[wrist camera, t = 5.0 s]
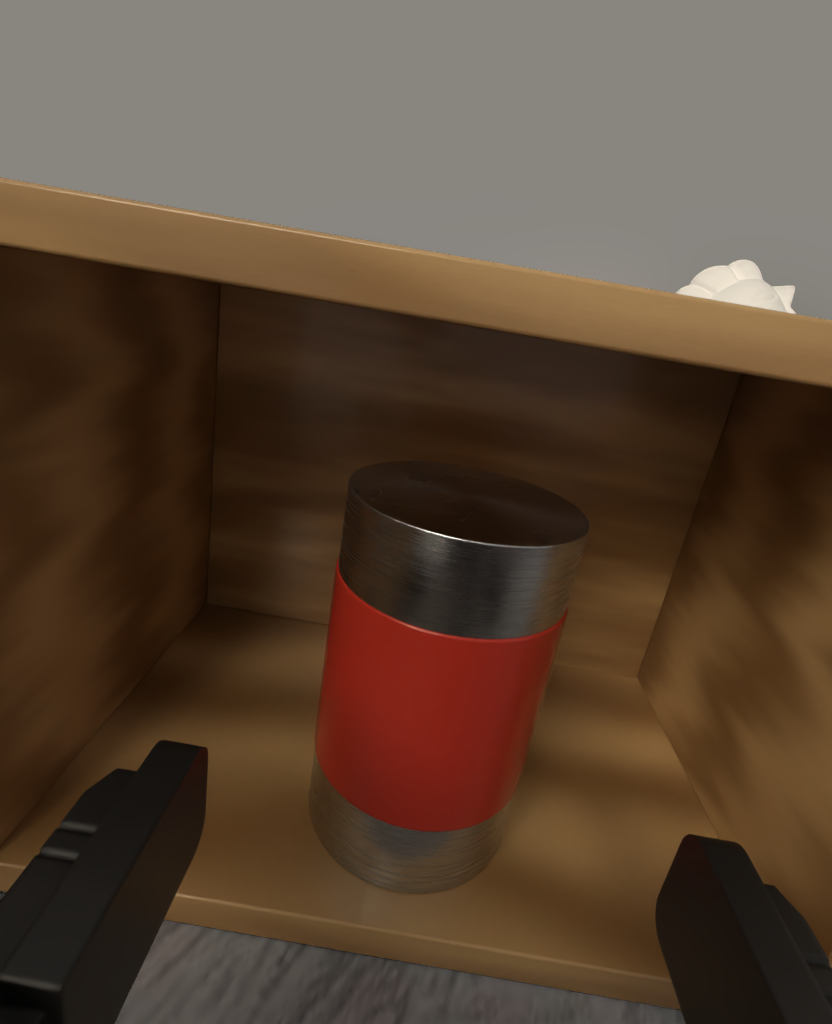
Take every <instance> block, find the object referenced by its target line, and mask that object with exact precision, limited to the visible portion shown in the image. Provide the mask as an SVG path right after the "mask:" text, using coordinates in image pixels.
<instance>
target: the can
mask: <svg viewBox="0 0 832 1024" xmlns="http://www.w3.org/2000/svg"><path fill="white" fill-rule="evenodd" d="M588 533H589V522H588V519H587V517H586V516H585V514H584V513H583V512H582V511H581V510H580V509H579V508H578V507H576V506H575V505H574V504H572V503H571V502H569V501H568V500H566V499H564V498H563V497H561V496H559V495H557V494H555V493H553V492H551V491H549V490H547V489H545V488H542V487H540V486H537V485H535V484H532V483H529V482H527V481H524V480H521V479H518V478H514V477H511V476H508V475H504V474H500V473H497V472H493V471H488V470H484V469H479V468H474V467H469V466H463V465H457V464H450V463H441V462H431V461H390V462H382V463H376V464H372V465H368V466H365V467H362V468H360V469H358V470H356V471H355V472H354V473H353V474H352V475H351V477H350V479H349V482H348V490H347V498H346V505H345V513H344V521H343V529H342V537H341V545H340V553H339V557H338V559H337V562H336V569H335V577H334V585H333V593H332V601H331V608H330V616H329V624H328V632H327V640H326V648H325V656H324V664H323V672H322V680H321V688H320V696H319V704H318V712H317V720H316V728H315V737H314V742H315V749H314V757H313V765H312V773H311V781H310V789H309V798H308V801H309V812H310V817H311V821H312V824H313V827H314V829H315V832H316V834H317V836H318V838H319V839H320V841H321V843H322V845H323V846H324V847H325V849H326V850H327V851H328V852H329V854H330V855H331V856H332V857H333V858H334V859H335V860H336V861H337V862H338V863H339V864H340V865H341V866H342V867H344V868H345V869H346V870H348V871H349V872H350V873H352V874H353V875H355V876H357V877H358V878H360V879H362V880H363V881H365V882H368V883H370V884H372V885H375V886H377V887H380V888H383V889H387V890H390V891H394V892H401V893H407V894H428V893H437V892H441V891H445V890H449V889H452V888H455V887H457V886H459V885H462V884H464V883H466V882H467V881H469V880H471V879H472V878H474V877H475V876H476V875H477V874H479V873H480V872H481V871H482V870H483V869H484V868H485V867H486V866H487V865H488V864H489V862H490V861H491V860H492V858H493V857H494V855H495V853H496V852H497V850H498V847H499V844H500V842H501V838H502V835H503V831H504V828H505V824H506V821H507V817H508V814H509V810H510V807H511V803H512V800H513V796H514V794H515V792H516V790H517V787H518V785H519V782H520V779H521V775H522V772H523V768H524V765H525V761H526V758H527V754H528V751H529V747H530V744H531V740H532V737H533V733H534V730H535V726H536V723H537V719H538V716H539V712H540V709H541V705H542V702H543V698H544V695H545V691H546V688H547V684H548V681H549V677H550V674H551V670H552V667H553V663H554V660H555V656H556V653H557V649H558V646H559V642H560V639H561V635H562V632H563V628H564V625H565V621H566V618H567V614H568V603H569V599H570V596H571V592H572V589H573V585H574V582H575V578H576V575H577V571H578V568H579V564H580V561H581V557H582V554H583V550H584V547H585V543H586V540H587V536H588Z"/></svg>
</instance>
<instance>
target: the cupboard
mask: <svg viewBox="0 0 832 1024" xmlns="http://www.w3.org/2000/svg"><path fill="white" fill-rule="evenodd" d="M390 461H431V462H441V463H450V464H457V465H463V466H469V467H474V468H479V469H484V470H488V471H493V472H497V473H500V474H504V475H508V476H511V477H514V478H518V479H521V480H524V481H527V482H529V483H532V484H535V485H537V486H540V487H542V488H545V489H547V490H549V491H551V492H553V493H555V494H557V495H559V496H561V497H563V498H564V499H566V500H568V501H569V502H571V503H572V504H574V505H575V506H576V507H578V508H579V509H580V510H581V511H582V512H583V513H584V514H585V516H586V517H587V519H588V522H589V533H588V536H587V540H586V543H585V547H584V550H583V554H582V557H581V561H580V564H579V568H578V571H577V575H576V578H575V582H574V585H573V589H572V592H571V596H570V599H569V603H568V614H567V618H566V621H565V625H564V628H563V632H562V635H561V639H560V642H559V646H558V649H557V653H556V656H555V660H554V663H553V667H552V670H551V674H550V677H549V681H548V684H547V688H546V691H545V695H544V698H543V702H542V705H541V709H540V712H539V716H538V719H537V723H536V726H535V730H534V733H533V737H532V740H531V744H530V747H529V751H528V754H527V758H526V761H525V765H524V768H523V772H522V775H521V779H520V782H519V785H518V787H517V790H516V792H515V794H514V796H513V800H512V803H511V807H510V810H509V814H508V817H507V821H506V824H505V828H504V831H503V835H502V838H501V842H500V844H499V847H498V850H497V852H496V853H495V855H494V857H493V858H492V860H491V861H490V862H489V864H488V865H487V866H486V867H485V868H484V869H483V870H482V871H481V872H480V873H479V874H477V875H476V876H475V877H474V878H472V879H471V880H469V881H467V882H466V883H464V884H462V885H459V886H457V887H455V888H452V889H449V890H445V891H441V892H437V893H428V894H407V893H401V892H394V891H390V890H387V889H383V888H380V887H377V886H375V885H372V884H370V883H368V882H365V881H363V880H362V879H360V878H358V877H357V876H355V875H353V874H352V873H350V872H349V871H348V870H346V869H345V868H344V867H342V866H341V865H340V864H339V863H338V862H337V861H336V860H335V859H334V858H333V857H332V856H331V855H330V854H329V852H328V851H327V850H326V849H325V847H324V846H323V845H322V843H321V841H320V839H319V838H318V836H317V834H316V832H315V829H314V827H313V824H312V821H311V817H310V812H309V801H308V798H309V789H310V781H311V773H312V765H313V757H314V749H315V742H314V737H315V728H316V720H317V712H318V704H319V696H320V688H321V680H322V672H323V664H324V656H325V648H326V640H327V632H328V624H329V616H330V608H331V601H332V593H333V585H334V577H335V569H336V562H337V559H338V557H339V553H340V545H341V537H342V529H343V521H344V513H345V505H346V498H347V490H348V482H349V479H350V477H351V475H352V474H353V473H354V472H355V471H356V470H358V469H360V468H362V467H365V466H368V465H372V464H376V463H382V462H390ZM160 740H168V741H174V742H179V743H185V744H191V745H197V746H202V747H206V748H207V749H208V774H207V795H206V814H205V822H204V827H203V831H202V835H201V838H200V841H199V845H198V847H197V850H196V853H195V855H194V857H193V860H192V862H191V864H190V866H189V868H188V870H187V872H186V874H185V876H184V878H183V880H182V883H181V885H180V887H179V889H178V891H177V893H176V895H175V897H174V899H173V901H172V904H171V906H170V908H169V910H168V912H167V914H166V916H165V918H164V920H169V921H175V922H181V923H187V924H192V925H198V926H204V927H209V928H215V929H221V930H227V931H232V932H238V933H244V934H250V935H255V936H261V937H267V938H272V939H278V940H284V941H290V942H295V943H301V944H307V945H312V946H318V947H324V948H330V949H335V950H341V951H347V952H352V953H358V954H364V955H370V956H375V957H381V958H387V959H393V960H398V961H404V962H410V963H415V964H421V965H427V966H433V967H438V968H444V969H450V970H455V971H461V972H467V973H473V974H478V975H484V976H490V977H495V978H501V979H507V980H513V981H518V982H524V983H530V984H536V985H541V986H547V987H553V988H558V989H564V990H570V991H576V992H581V993H587V994H593V995H598V996H604V997H610V998H616V999H621V1000H627V1001H633V1002H638V1003H644V1004H650V1005H656V1006H661V1007H667V1008H673V1009H679V1010H681V1008H680V1005H679V1002H678V999H677V996H676V993H675V990H674V987H673V984H672V980H671V977H670V974H669V971H668V968H667V965H666V962H665V959H664V956H663V953H662V950H661V947H660V944H659V940H658V936H657V930H656V921H655V910H656V902H657V898H658V895H659V892H660V890H661V888H662V885H663V883H664V881H665V878H666V876H667V874H668V871H669V869H670V867H671V864H672V862H673V860H674V857H675V855H676V853H677V850H678V848H679V846H680V843H681V841H682V839H683V838H684V837H685V836H686V835H688V834H693V835H699V836H704V837H710V838H716V839H721V840H727V841H733V842H736V843H738V844H740V845H741V846H742V847H743V848H744V850H745V851H746V853H747V854H748V856H749V858H750V860H751V861H752V863H753V865H754V867H755V869H756V871H757V872H758V874H759V876H760V878H761V880H762V882H763V883H764V884H769V885H774V886H775V887H776V888H777V889H778V890H779V891H780V892H781V893H782V895H783V896H784V897H785V898H786V899H787V900H788V901H789V902H790V903H791V904H792V906H793V907H794V908H795V909H796V910H797V911H798V912H799V913H800V914H801V915H802V916H803V918H804V919H805V920H806V921H807V923H808V924H809V926H810V928H811V929H812V931H813V933H814V935H815V936H816V938H817V940H818V942H819V943H820V945H821V947H822V948H823V950H824V952H825V954H826V955H827V957H828V959H829V965H830V967H831V968H832V320H827V319H821V318H816V317H810V316H804V315H799V314H793V313H787V312H781V311H775V310H770V309H764V308H758V307H752V306H746V305H740V304H735V303H729V302H723V301H717V300H711V299H706V298H700V297H694V296H688V295H682V294H676V293H671V292H665V291H659V290H653V289H647V288H642V287H635V286H630V285H624V284H618V283H612V282H607V281H600V280H594V279H589V278H583V277H577V276H572V275H565V274H560V273H554V272H548V271H542V270H537V269H531V268H525V267H519V266H514V265H508V264H502V263H496V262H490V261H484V260H478V259H473V258H467V257H461V256H455V255H449V254H444V253H438V252H432V251H426V250H420V249H415V248H408V247H403V246H397V245H391V244H386V243H379V242H373V241H368V240H362V239H356V238H351V237H345V236H339V235H332V234H327V233H322V232H316V231H310V230H304V229H298V228H292V227H287V226H281V225H275V224H269V223H263V222H257V221H252V220H245V219H240V218H234V217H228V216H222V215H217V214H210V213H205V212H199V211H193V210H188V209H182V208H176V207H170V206H164V205H159V204H152V203H147V202H141V201H135V200H129V199H123V198H118V197H112V196H106V195H100V194H94V193H88V192H83V191H77V190H71V189H65V188H59V187H54V186H48V185H42V184H36V183H30V182H25V181H19V180H12V179H7V178H1V177H0V891H4V892H7V891H8V890H9V889H10V887H11V886H12V885H13V883H14V882H15V881H16V880H17V878H18V877H19V876H20V874H21V873H22V872H23V871H24V869H25V868H26V867H27V865H28V864H29V863H30V861H31V860H32V859H33V858H34V856H35V855H38V854H39V853H40V850H41V847H42V846H43V845H44V843H45V842H46V841H47V839H48V838H49V837H50V836H51V834H52V833H53V832H54V830H55V829H56V828H59V827H60V825H61V821H62V820H63V819H64V817H65V816H66V815H67V814H68V812H69V811H70V810H71V808H72V807H73V806H74V805H75V803H76V802H77V801H78V799H79V798H80V797H81V795H82V794H83V793H84V792H85V791H86V790H87V789H89V788H90V787H91V786H93V785H94V784H96V783H97V782H98V781H100V780H101V779H103V778H104V777H105V776H107V775H108V774H109V773H111V772H112V771H114V770H115V769H116V768H121V769H127V770H132V771H137V770H138V769H139V767H140V766H141V764H142V763H143V761H144V760H145V759H146V757H147V756H148V754H149V753H150V751H151V750H152V748H153V747H154V746H155V745H156V744H157V742H159V741H160Z"/></svg>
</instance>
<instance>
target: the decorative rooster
mask: <svg viewBox="0 0 832 1024" xmlns="http://www.w3.org/2000/svg"><path fill="white" fill-rule="evenodd" d="M794 292H795V287H794V286H791V285H790V286H775V287H772V286H770V285H769V284H768V283H767V282H765V281H763V278H762V275H761V273H760V270H759V268H758V267H757V265H756V264H755V263H753V262H752V261H749V260H737V261H735V262H732V263H731V264H729V265H728V266H714V267H710V268H708V269H705V270H703V271H702V272H700V273H699V274H697V276H695V277H694V278H693V280H692V281H691V283H690V285H688V286H685V287H683V288H681V289H680V290H678V291H677V292H676V294H682V295H688V296H694V297H700V298H706V299H711V300H717V301H723V302H729V303H735V304H740V305H746V306H752V307H758V308H764V309H770V310H775V311H781V312H787V313H793V314H796V313H795V312H794V310H793V309H791V303H792V300H793V296H794Z"/></svg>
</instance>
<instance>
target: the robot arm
mask: <svg viewBox="0 0 832 1024" xmlns="http://www.w3.org/2000/svg"><path fill="white" fill-rule="evenodd" d="M207 774H208V749H207V748H206V747H202V746H197V745H191V744H185V743H179V742H174V741H168V740H160V741H159V742H157V744H156V745H155V746H154V747H153V748H152V750H151V751H150V753H149V754H148V756H147V757H146V759H145V760H144V761H143V763H142V764H141V766H140V767H139V769H138V770H137V771H132V770H127V769H121V768H116V769H115V770H114V771H112V772H111V773H109V774H108V775H107V776H105V777H104V778H103V779H101V780H100V781H98V782H97V783H96V784H94V785H93V786H91V787H90V788H89V789H87V790H86V791H85V792H84V793H83V794H82V795H81V797H80V798H79V799H78V801H77V802H76V803H75V805H74V806H73V807H72V808H71V810H70V811H69V812H68V814H67V815H66V816H65V817H64V819H63V820H62V821H61V825H60V827H59V828H56V829H55V830H54V832H53V833H52V834H51V836H50V837H49V838H48V839H47V841H46V842H45V843H44V845H43V846H42V847H41V850H40V853H39V854H38V855H35V856H34V858H33V859H32V860H31V861H30V863H29V864H28V865H27V867H26V868H25V869H24V871H23V872H22V873H21V874H20V876H19V877H18V878H17V880H16V881H15V882H14V883H13V885H12V886H11V887H10V889H9V890H8V891H7V893H6V894H5V895H4V896H3V898H2V899H1V900H0V1024H114V1023H115V1021H116V1019H117V1016H118V1014H119V1012H120V1010H121V1008H122V1006H123V1004H124V1002H125V1000H126V998H127V996H128V993H129V991H130V989H131V987H132V985H133V983H134V981H135V979H136V977H137V975H138V973H139V970H140V968H141V966H142V964H143V962H144V960H145V958H146V956H147V954H148V952H149V950H150V947H151V945H152V943H153V941H154V939H155V937H156V935H157V933H158V931H159V929H160V927H161V924H162V922H163V920H164V918H165V916H166V914H167V912H168V910H169V908H170V906H171V904H172V901H173V899H174V897H175V895H176V893H177V891H178V889H179V887H180V885H181V883H182V880H183V878H184V876H185V874H186V872H187V870H188V868H189V866H190V864H191V862H192V860H193V857H194V855H195V853H196V850H197V847H198V845H199V841H200V838H201V835H202V831H203V827H204V822H205V814H206V795H207ZM655 921H656V930H657V936H658V940H659V944H660V947H661V950H662V953H663V956H664V959H665V962H666V965H667V968H668V971H669V974H670V977H671V980H672V984H673V987H674V990H675V993H676V996H677V999H678V1002H679V1005H680V1008H681V1011H682V1014H683V1017H684V1020H685V1023H686V1024H832V968H831V967H830V965H829V959H828V957H827V955H826V954H825V952H824V950H823V948H822V947H821V945H820V943H819V942H818V940H817V938H816V936H815V935H814V933H813V931H812V929H811V928H810V926H809V924H808V923H807V921H806V920H805V919H804V918H803V916H802V915H801V914H800V913H799V912H798V911H797V910H796V909H795V908H794V907H793V906H792V904H791V903H790V902H789V901H788V900H787V899H786V898H785V897H784V896H783V895H782V893H781V892H780V891H779V890H778V889H777V888H776V887H775V886H774V885H769V884H764V883H763V882H762V880H761V878H760V876H759V874H758V872H757V871H756V869H755V867H754V865H753V863H752V861H751V860H750V858H749V856H748V854H747V853H746V851H745V850H744V848H743V847H742V846H741V845H740V844H738V843H736V842H733V841H727V840H721V839H716V838H710V837H704V836H699V835H693V834H688V835H686V836H685V837H684V838H683V839H682V841H681V843H680V846H679V848H678V850H677V853H676V855H675V857H674V860H673V862H672V864H671V867H670V869H669V871H668V874H667V876H666V878H665V881H664V883H663V885H662V888H661V890H660V892H659V895H658V898H657V902H656V910H655Z"/></svg>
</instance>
